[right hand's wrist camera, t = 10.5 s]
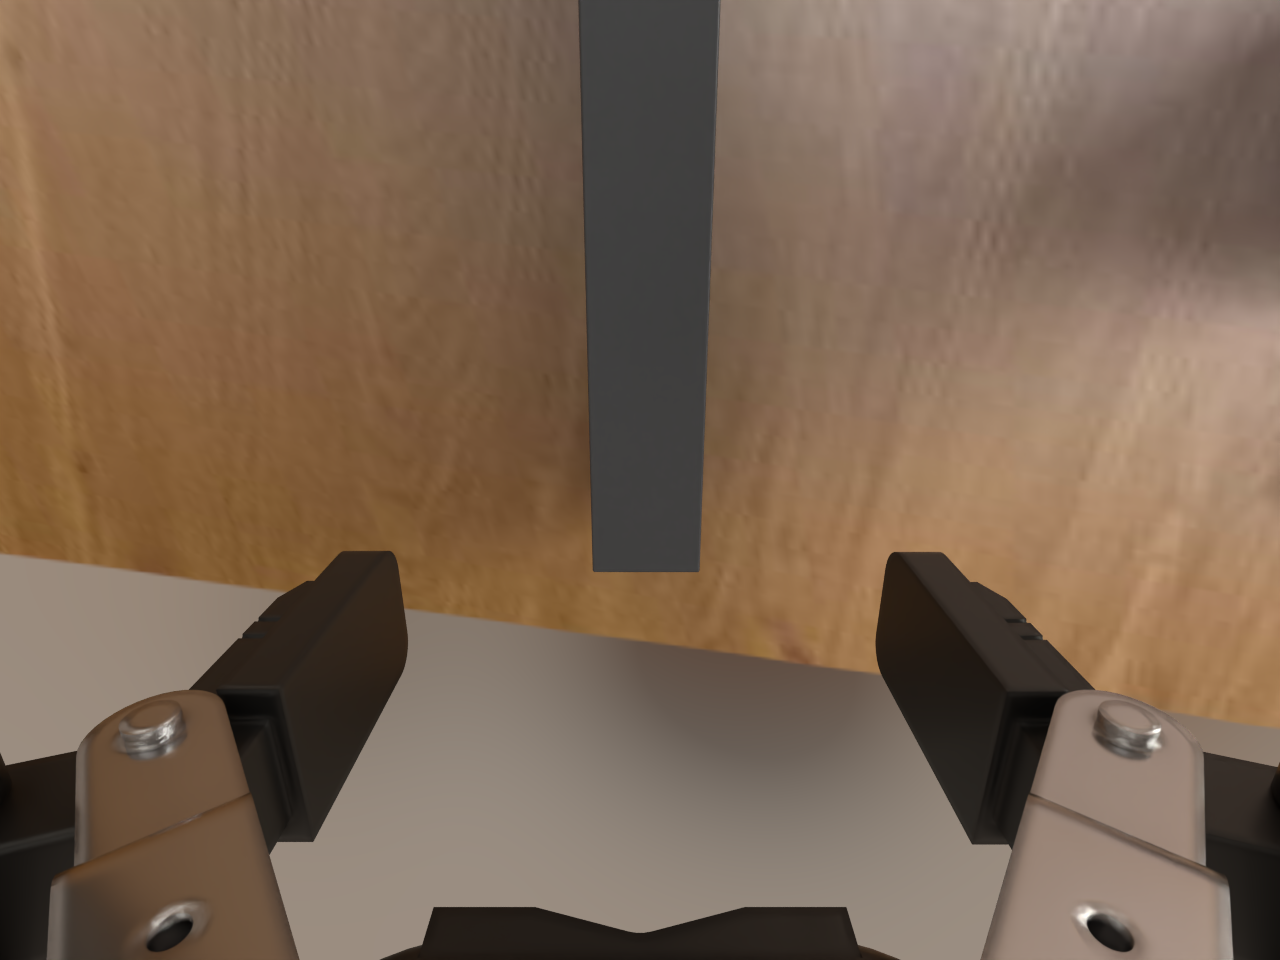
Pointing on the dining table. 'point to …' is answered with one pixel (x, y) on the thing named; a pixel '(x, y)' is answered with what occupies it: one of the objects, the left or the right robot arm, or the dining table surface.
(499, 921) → the right robot arm
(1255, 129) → the dining table surface
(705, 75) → the bar
